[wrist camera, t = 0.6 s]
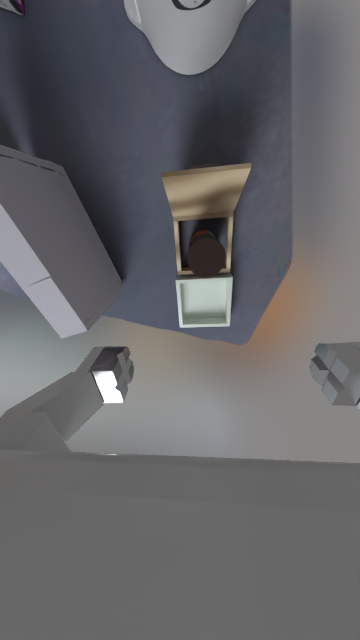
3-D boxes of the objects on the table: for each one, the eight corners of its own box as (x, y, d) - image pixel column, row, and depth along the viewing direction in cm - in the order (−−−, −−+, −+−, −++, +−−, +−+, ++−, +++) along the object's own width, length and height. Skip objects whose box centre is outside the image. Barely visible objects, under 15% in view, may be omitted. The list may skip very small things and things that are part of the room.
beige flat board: (173, 216, 36) (172, 209, 36) (233, 211, 35) (233, 203, 35) (161, 177, 25) (161, 166, 25) (251, 167, 24) (251, 156, 24)
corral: (174, 216, 39) (173, 216, 37) (230, 211, 38) (233, 211, 36) (178, 271, 45) (177, 274, 43) (227, 268, 44) (230, 272, 41)
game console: (61, 159, 36) (-61, 113, 19) (126, 288, 48) (89, 330, 31) (37, 172, 37) (-97, 140, 20) (107, 294, 50) (61, 338, 32)
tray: (177, 275, 46) (175, 280, 42) (229, 272, 44) (232, 277, 41) (180, 319, 52) (179, 327, 48) (227, 318, 51) (229, 326, 47)
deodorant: (219, 232, 40) (231, 243, 27) (211, 260, 43) (218, 281, 30) (193, 226, 40) (192, 233, 27) (186, 254, 43) (183, 273, 30)
